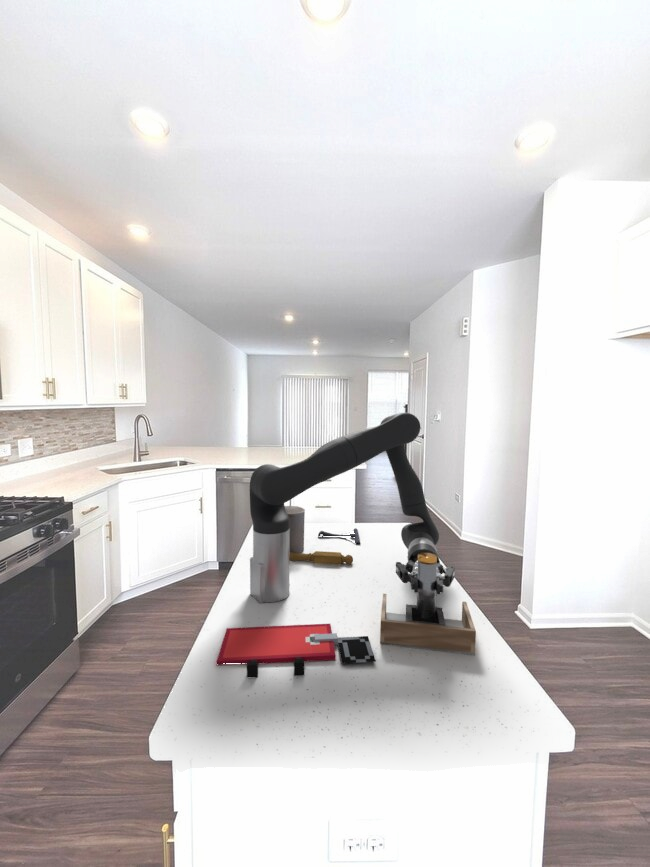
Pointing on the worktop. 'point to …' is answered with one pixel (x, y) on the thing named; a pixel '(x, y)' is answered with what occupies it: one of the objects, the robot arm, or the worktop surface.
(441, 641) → the socket box
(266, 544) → the robot arm
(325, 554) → the tap handle
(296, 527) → the pillar candle
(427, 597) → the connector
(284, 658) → the red board with handle
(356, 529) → the bracket
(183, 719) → the worktop surface
